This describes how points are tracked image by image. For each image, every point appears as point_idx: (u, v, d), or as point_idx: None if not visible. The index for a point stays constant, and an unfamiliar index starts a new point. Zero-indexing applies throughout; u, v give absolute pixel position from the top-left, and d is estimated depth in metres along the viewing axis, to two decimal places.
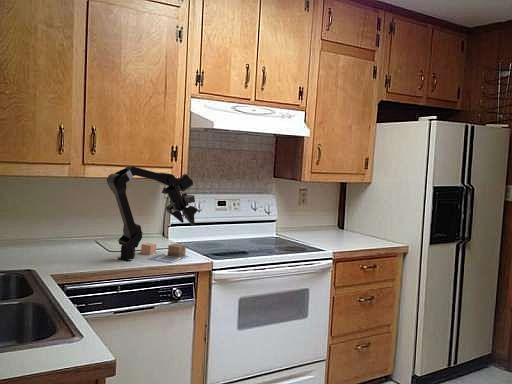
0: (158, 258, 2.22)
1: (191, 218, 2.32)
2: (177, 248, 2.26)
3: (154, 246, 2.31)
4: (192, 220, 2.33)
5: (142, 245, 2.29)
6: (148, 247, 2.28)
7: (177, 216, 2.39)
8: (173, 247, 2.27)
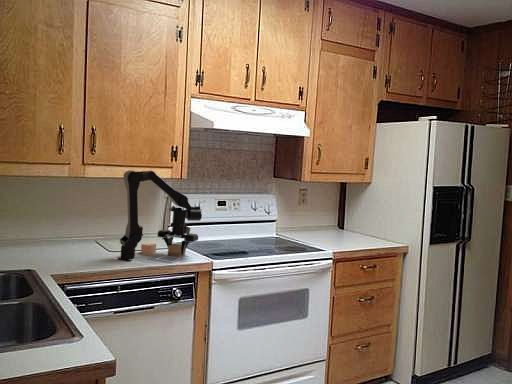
0: (158, 258, 2.22)
1: (185, 245, 2.28)
2: (177, 248, 2.26)
3: (154, 246, 2.31)
4: (185, 248, 2.28)
5: (142, 245, 2.29)
6: (148, 247, 2.28)
7: (169, 244, 2.30)
8: (173, 247, 2.27)
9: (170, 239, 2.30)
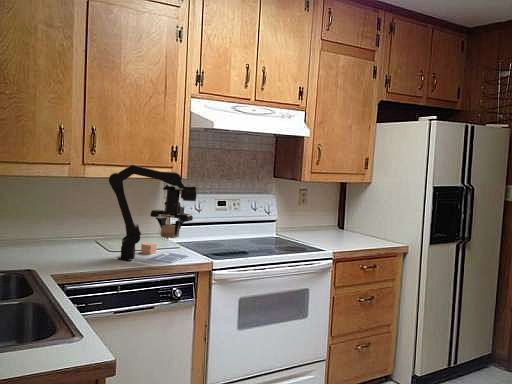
0: (158, 258, 2.22)
1: (179, 226, 2.20)
2: (171, 228, 2.19)
3: (154, 246, 2.31)
4: (178, 228, 2.21)
5: (142, 245, 2.29)
6: (148, 247, 2.28)
7: (162, 224, 2.22)
8: (166, 227, 2.19)
9: (163, 219, 2.23)
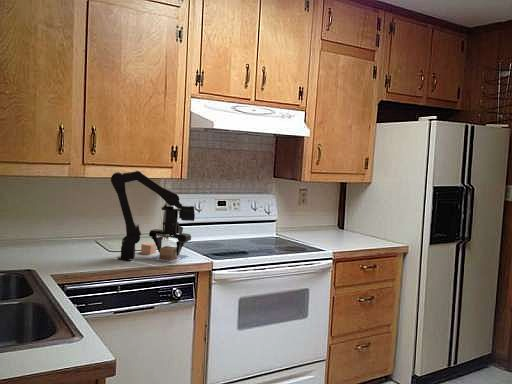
0: (158, 258, 2.22)
1: (180, 246, 2.20)
2: (169, 251, 2.19)
3: (154, 246, 2.31)
4: (180, 249, 2.21)
5: (142, 245, 2.29)
6: (148, 247, 2.28)
7: (158, 243, 2.23)
8: (165, 250, 2.20)
9: (159, 238, 2.24)
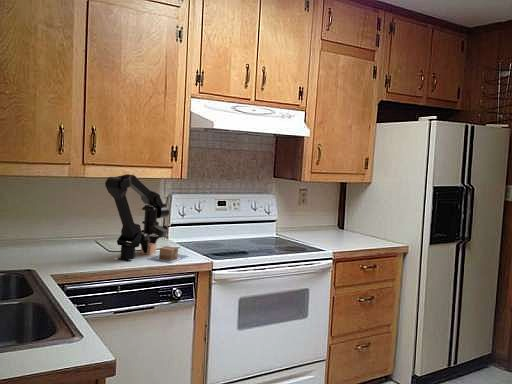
0: (158, 258, 2.22)
1: (144, 244, 2.27)
2: (169, 251, 2.19)
3: (154, 246, 2.31)
4: (144, 246, 2.27)
5: None
6: (148, 247, 2.28)
7: (150, 241, 2.34)
8: (165, 250, 2.20)
9: (152, 238, 2.33)
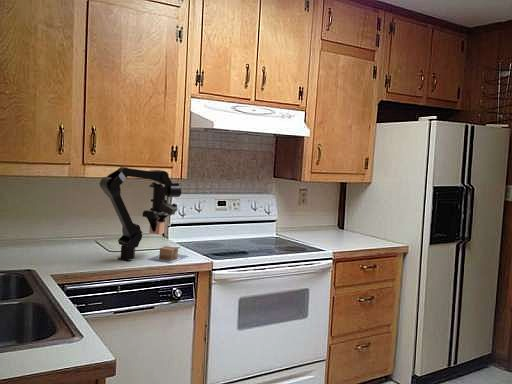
0: (158, 258, 2.22)
1: (153, 222, 2.23)
2: (169, 251, 2.19)
3: (163, 224, 2.27)
4: (153, 225, 2.24)
5: None
6: (157, 225, 2.24)
7: (158, 220, 2.30)
8: (165, 250, 2.20)
9: (160, 216, 2.30)
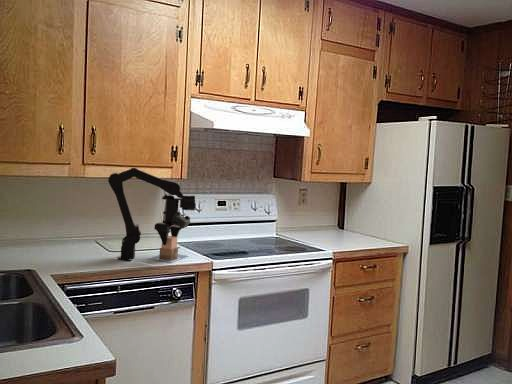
0: (158, 258, 2.22)
1: (163, 235, 2.17)
2: (169, 251, 2.19)
3: (175, 239, 2.22)
4: (163, 238, 2.17)
5: None
6: (169, 240, 2.19)
7: (172, 232, 2.27)
8: (165, 250, 2.20)
9: (175, 228, 2.26)
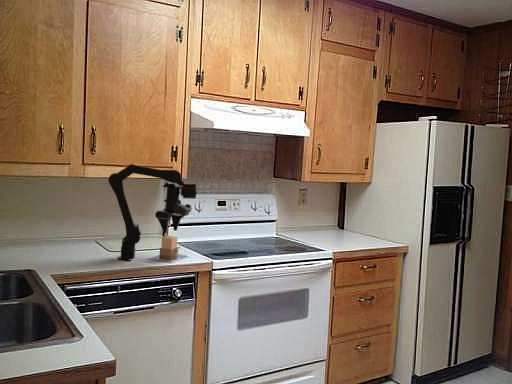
0: (158, 258, 2.22)
1: (164, 223, 2.16)
2: (169, 251, 2.19)
3: (175, 239, 2.22)
4: (164, 226, 2.16)
5: (163, 238, 2.20)
6: (169, 240, 2.19)
7: (173, 221, 2.26)
8: (165, 250, 2.20)
9: (176, 216, 2.26)
